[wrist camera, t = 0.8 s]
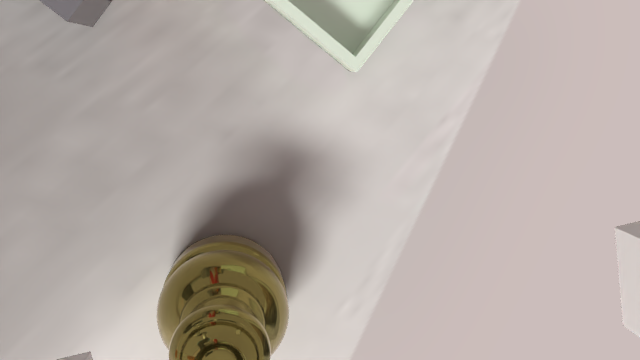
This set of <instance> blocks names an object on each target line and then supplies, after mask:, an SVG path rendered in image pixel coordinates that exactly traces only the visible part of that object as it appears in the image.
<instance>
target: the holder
mask: <svg viewBox="0 0 640 360" xmlns="http://www.w3.org/2000/svg"><path fill="white" fill-rule="evenodd" d="M40 1H41V2H42V3H44V4H45V5H46V6H48V7H49V8H50V9H52V10H53V11H54V12H56V13H57V14H58V15H59V16H61V17H62V18H63V19H65V20H66V21H68V22H72V23H77V24H81V25H86V26H90V27H93V26H94V24H95V23H96V22H97V20H98V19H99V18H100V16H101V15H102V13H103V12H104V11H105V9H106V8H107V7H108V5H109V4H110V3H111V1H110V0H40Z"/></svg>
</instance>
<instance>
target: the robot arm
mask: <svg viewBox="0 0 640 360" xmlns="http://www.w3.org/2000/svg"><path fill="white" fill-rule="evenodd" d="M615 239H616V250H617V262H618V273H619V285H620V296H621V308H622V319H623V326H624V327H625V328H627V329H628V330H630V331H631V332H633V333H634V334H635V335H637V336H638V337H639V338H640V221H639V222H634V223H630V224H626V225H622V226H617V227H615ZM57 360H93V359H92V355H91V352H86V353H82V354H78V355H73V356H69V357H65V358H61V359H57Z"/></svg>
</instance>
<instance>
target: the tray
mask: <svg viewBox="0 0 640 360" xmlns="http://www.w3.org/2000/svg"><path fill="white" fill-rule="evenodd" d="M264 1H266V2H267V3H268V4H269V5H270V6H272V7H273V8H274V9H275V10H276V11H278V12H279V13H280V14H281V15H282V16H284V17H285V18H286V19H287V20H288V21H290V22H291V23H292V24H293V25H294V26H296V27H297V28H298V29H299V30H300V31H302V32H303V33H304V34H305V35H306V36H308V37H309V38H310V39H311V40H312V41H314V42H315V43H316V44H317V45H318V46H320V47H321V48H322V49H323V50H325V51H326V52H327V53H328V54H329V55H331V56H332V57H333V58H334V59H335V60H337V61H338V62H339V63H340V64H341V65H343V66H344V67H345V68H346V69H347V70H349V71H350V72H358V70H359V69H360V68H361V67H362V65H363V64H364V63H365V62H366V60H367V59H368V58H369V56H370V55H371V54H372V53H373V51H374V50H375V49H376V48H377V46H378V45H379V44H380V43H381V41H382V40H383V39H384V37H385V36H386V35H387V34H388V32H389V31H390V30H391V29H392V27H393V26H394V25H395V24H396V22H397V21H398V20H399V18H400V17H401V16H402V15H403V13H404V12H405V11H406V10H407V8H408V7H409V6H410V5H411V3H412V2H413V1H414V0H264Z"/></svg>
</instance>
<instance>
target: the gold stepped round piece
mask: <svg viewBox="0 0 640 360" xmlns="http://www.w3.org/2000/svg"><path fill="white" fill-rule="evenodd" d="M288 319H289V307H288V301H287V297H286V289H285V285H284V281H283V278H282V274H281V271H280V269H279V267H278V265H277V263H276V261H275V260H274V258H273V257H272V256H271V255H270V253H269V252H268V251H267V250H266V249H264V248H263V247H262V246H260V245H259V244H257V243H256V242H254V241H252V240H250V239H247V238H244V237H240V236H236V235H216V236H211V237H207V238H204V239H202V240H200V241H197V242H196V243H194V244H192V245H191V246H189V247H188V248H187V249H186V250H185V251H183V253H182V254H181V255H180V256H179V257H178V258H177V260H176V261H175V263H174V264H173V266H172V268H171V271H170V272H169V274H168V276H167V278H166V281H165V283H164V287H163V289H162V292H161V294H160V298H159V301H158V306H157V323H158V329H159V332H160V335H161V338H162V340H163V342H164V344H165V346H166V347H167V349H168V350H169V360H270V356H271V355H272V354H273V353H274V352H275V351H276V349H277V348H278V346H279V345H280V343H281V341H282V339H283V337H284V335H285V332H286V329H287V325H288Z"/></svg>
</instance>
